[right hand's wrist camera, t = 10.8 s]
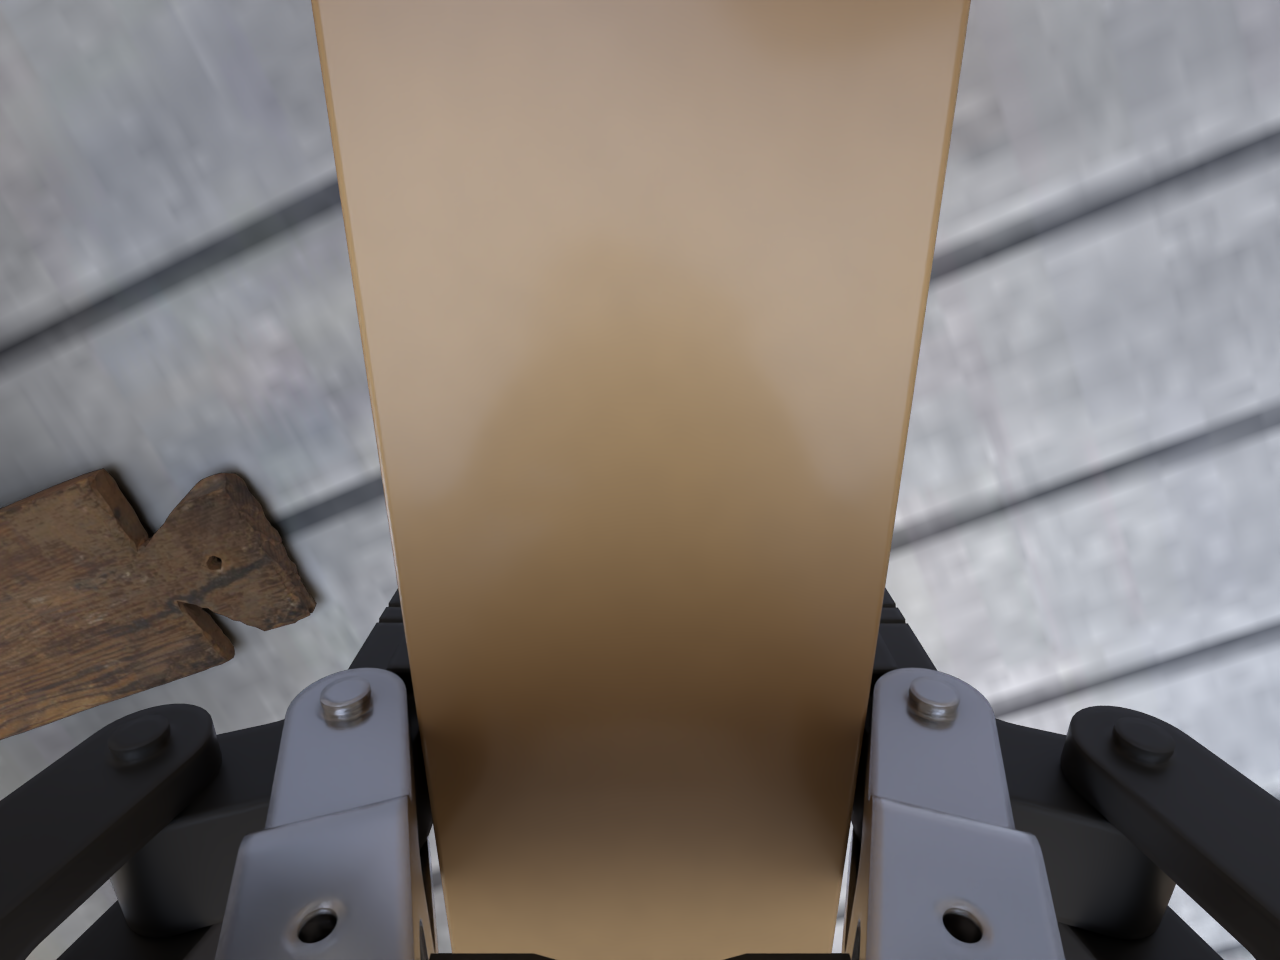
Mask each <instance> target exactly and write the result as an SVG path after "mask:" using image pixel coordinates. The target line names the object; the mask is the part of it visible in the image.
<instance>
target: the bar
mask: <svg viewBox="0 0 1280 960" xmlns="http://www.w3.org/2000/svg"><path fill="white" fill-rule="evenodd" d="M970 2H971V0H311V3H312V10H313V16H314V23H315V30H316V37H317V43H318V50H319V57H320V64H321V70H322V77H323V84H324V91H325V97H326V104H327V111H328V118H329V124H330V131H331V138H332V145H333V151H334V158H335V165H336V172H337V178H338V185H339V192H340V199H341V205H342V212H343V219H344V226H345V232H346V239H347V246H348V252H349V259H350V266H351V273H352V279H353V286H354V293H355V300H356V306H357V313H358V320H359V327H360V333H361V340H362V347H363V354H364V360H365V367H366V374H367V381H368V387H369V394H370V401H371V408H372V414H373V421H374V428H375V435H376V441H377V448H378V455H379V462H380V468H381V475H382V482H383V489H384V495H385V502H386V509H387V516H388V522H389V529H390V536H391V542H392V549H393V556H394V563H395V569H396V576H397V583H398V590H399V596H400V603H401V610H402V617H403V623H404V630H405V637H406V644H407V650H408V657H409V664H410V671H411V677H412V684H413V691H414V698H415V704H416V711H417V718H418V725H419V731H420V738H421V745H422V752H423V758H424V765H425V772H426V779H427V785H428V792H429V799H430V806H431V812H432V819H433V826H434V833H435V839H436V846H437V853H438V859H439V866H440V873H441V880H442V886H443V893H444V900H445V907H446V913H447V920H448V927H449V934H450V940H451V947H452V953H534V954H538V955H541V956H545V957H549V958H552V959H556V960H724V959H728V958H731V957H735V956H739V955H742V954H746V953H832V946H833V939H834V932H835V925H836V919H837V912H838V905H839V898H840V891H841V884H842V878H843V871H844V864H845V857H846V850H847V843H848V837H849V830H850V823H851V816H852V809H853V802H854V796H855V789H856V782H857V775H858V768H859V761H860V755H861V748H862V741H863V734H864V727H865V720H866V714H867V707H868V700H869V693H870V686H871V679H872V672H873V666H874V659H875V652H876V645H877V638H878V631H879V625H880V618H881V611H882V604H883V597H884V590H885V584H886V577H887V570H888V563H889V556H890V549H891V543H892V536H893V529H894V522H895V515H896V508H897V502H898V495H899V488H900V481H901V474H902V467H903V461H904V454H905V447H906V440H907V433H908V426H909V419H910V413H911V406H912V399H913V392H914V385H915V378H916V372H917V365H918V358H919V351H920V344H921V337H922V331H923V324H924V317H925V310H926V303H927V296H928V290H929V283H930V276H931V269H932V262H933V255H934V249H935V242H936V235H937V228H938V221H939V214H940V208H941V201H942V194H943V187H944V180H945V173H946V167H947V160H948V153H949V146H950V139H951V132H952V125H953V119H954V112H955V105H956V98H957V91H958V84H959V78H960V71H961V64H962V57H963V50H964V43H965V37H966V30H967V23H968V16H969V9H970Z"/></svg>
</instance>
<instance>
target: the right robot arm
mask: <svg viewBox="0 0 1280 960" xmlns="http://www.w3.org/2000/svg"><path fill="white" fill-rule="evenodd" d="M851 821H852V824H853V831H852V838H851V845H850V851H849V864H848V877H847V890H846V903H845V916H844V929H843V942H842V953H746V954H742V955H739V956H735V957H731V958H728V959H724V960H1223V959H1222V958H1221V957H1220V956H1219V955H1218V954H1217V953H1216V952H1215V951H1214V950H1213V949H1212V948H1211V947H1210V946H1209V945H1208V944H1207V943H1206V942H1205V941H1204V940H1203V939H1202V938H1201V937H1200V936H1199V935H1198V934H1197V933H1196V932H1195V931H1194V930H1193V929H1192V928H1191V927H1189V926H1188V925H1187V924H1186V923H1185V922H1184V921H1183V920H1182V919H1181V918H1180V917H1179V916H1178V915H1177V914H1176V913H1175V912H1174V911H1173V910H1172V909H1171V908H1170V907H1169V906H1168V903H1169V900H1170V898H1171V895H1172V893H1173V890H1174V888H1175V885H1176V884H1177V885H1178V886H1179V887H1180V888H1181V889H1182V890H1184V891H1185V892H1186V893H1187V894H1188V895H1189V896H1190V897H1191V898H1192V899H1193V900H1194V901H1195V902H1196V903H1198V904H1199V905H1200V906H1201V907H1202V908H1203V909H1204V910H1205V911H1206V912H1207V913H1208V914H1209V915H1210V916H1212V917H1213V918H1214V919H1215V920H1216V921H1217V922H1218V923H1219V924H1220V925H1221V926H1222V927H1223V928H1224V929H1226V930H1227V931H1228V932H1229V933H1230V934H1231V935H1232V936H1233V937H1234V938H1235V939H1236V940H1237V941H1238V942H1239V943H1241V944H1242V945H1243V946H1244V947H1245V948H1246V949H1247V950H1248V951H1249V952H1250V953H1251V954H1252V955H1253V957H1254V958H1255V959H1256V960H1280V801H1279V800H1278V799H1276V798H1275V797H1273V796H1272V795H1271V794H1269V793H1268V792H1266V791H1265V790H1264V789H1262V788H1261V787H1259V786H1258V785H1257V784H1255V783H1254V782H1252V781H1251V780H1250V779H1248V778H1247V777H1245V776H1244V775H1243V774H1241V773H1240V772H1238V771H1237V770H1236V769H1234V768H1233V767H1232V766H1230V765H1229V764H1227V763H1226V762H1225V761H1223V760H1222V759H1220V758H1219V757H1218V756H1216V755H1215V754H1213V753H1212V752H1211V751H1209V750H1208V749H1206V748H1205V747H1204V746H1202V745H1201V744H1199V743H1198V742H1197V741H1195V740H1194V739H1192V738H1191V737H1190V736H1188V735H1187V734H1185V733H1184V732H1182V731H1181V730H1179V729H1178V728H1176V727H1174V726H1172V725H1170V724H1168V723H1167V722H1164V721H1162V720H1160V719H1158V718H1156V717H1153V716H1150V715H1148V714H1145V713H1142V712H1138V711H1135V710H1131V709H1127V708H1122V707H1115V706H1093V707H1088V708H1085V709H1082V710H1080V711H1078V712H1077V713H1076V714H1075V715H1074V716H1073V717H1072V720H1071V722H1070V726H1069V729H1068V733H1067V736H1066V735H1062V734H1057V733H1052V732H1048V731H1043V730H1039V729H1034V728H1029V727H1025V726H1020V725H1016V724H1012V723H1008V722H1005V721H1002V720H999V719H996V718H995V716H994V712H993V709H992V707H991V705H990V704H989V702H988V701H987V700H986V698H985V697H984V696H983V695H982V694H981V693H980V692H979V691H977V690H976V689H975V688H973V687H972V686H971V685H969V684H968V683H966V682H964V681H962V680H960V679H958V678H956V677H954V676H951V675H949V674H946V673H943V672H939V671H937V669H936V668H935V666H934V665H933V663H932V661H931V660H930V658H929V657H928V655H927V653H926V652H925V650H924V649H923V647H922V645H921V644H920V642H919V641H918V639H917V637H916V636H915V634H914V633H913V631H912V629H911V628H910V626H909V625H908V624H906V623H905V618H904V617H903V615H902V613H901V612H900V610H899V609H898V608H896V606H895V602H894V601H893V599H892V598H891V596H890V594H889V593H888V591H887V590H886V588H885V590H884V597H883V604H882V611H881V618H880V625H879V631H878V638H877V645H876V652H875V659H874V666H873V672H872V679H871V686H870V693H869V700H868V707H867V714H866V720H865V727H864V734H863V741H862V748H861V755H860V761H859V768H858V775H857V782H856V789H855V796H854V802H853V809H852V816H851ZM432 824H433V819H432V812H431V806H430V799H429V792H428V785H427V779H426V772H425V765H424V758H423V752H422V745H421V738H420V731H419V725H418V718H417V711H416V704H415V698H414V691H413V684H412V677H411V671H410V664H409V657H408V650H407V644H406V637H405V630H404V623H403V617H402V610H401V603H400V596H399V590H398V589H397V591H396V592H395V594H394V596H393V597H392V599H391V600H390V602H389V607H386V609H385V610H384V612H383V613H382V615H381V617H380V618H379V623H376V625H375V626H374V628H373V630H372V631H371V633H370V635H369V636H368V638H367V639H366V641H365V643H364V644H363V646H362V648H361V649H360V651H359V652H358V654H357V656H356V657H355V659H354V661H353V662H352V664H351V665H350V667H349V669H348V670H345V671H341V672H337V673H334V674H331V675H329V676H326V677H324V678H322V679H320V680H318V681H316V682H314V683H312V684H311V685H309V686H308V687H307V688H305V689H304V690H303V691H301V692H300V693H299V694H298V695H297V696H296V697H295V698H294V700H293V701H292V702H291V704H290V705H289V707H288V709H287V712H286V716H285V719H284V720H281V721H277V722H273V723H269V724H265V725H261V726H256V727H251V728H247V729H242V730H237V731H233V732H228V733H223V734H219V735H216V732H215V728H214V725H213V721H212V718H211V716H210V714H209V713H208V712H207V711H206V710H204V709H203V708H201V707H198V706H195V705H190V704H168V705H161V706H156V707H151V708H148V709H144V710H141V711H138V712H135V713H132V714H130V715H127V716H125V717H123V718H121V719H118V720H116V721H114V722H112V723H111V724H109V725H107V726H105V727H104V728H102V729H101V730H99V731H98V732H96V733H95V734H93V735H92V736H90V737H89V738H88V739H86V740H85V741H83V742H82V743H81V744H79V745H78V746H76V747H75V748H74V749H72V750H71V751H69V752H68V753H67V754H65V755H64V756H62V757H61V758H60V759H58V760H57V761H55V762H54V763H53V764H51V765H50V766H48V767H47V768H46V769H44V770H43V771H42V772H40V773H39V774H37V775H36V776H35V777H33V778H32V779H30V780H29V781H28V782H26V783H25V784H23V785H22V786H21V787H19V788H18V789H16V790H15V791H14V792H12V793H11V794H9V795H8V796H7V797H5V798H4V799H2V800H1V801H0V960H25V959H26V958H27V957H28V955H29V954H30V953H31V952H32V951H33V950H34V949H35V948H36V947H37V945H38V944H39V943H41V942H42V941H43V940H44V939H45V938H46V937H47V936H48V935H49V934H50V933H51V932H52V931H53V930H55V929H56V928H57V927H58V926H59V925H60V924H61V923H62V922H63V921H64V920H65V919H66V918H67V917H69V916H70V915H71V914H72V913H73V912H74V911H75V910H76V909H77V908H78V907H79V906H80V905H81V904H82V903H84V902H85V901H86V900H87V899H88V898H89V897H90V896H91V895H92V894H93V893H94V892H95V891H96V890H98V889H99V888H100V887H101V886H102V885H103V884H104V883H105V882H106V881H107V880H108V879H109V878H110V881H111V883H112V886H113V888H114V891H115V893H116V896H117V899H118V900H117V901H116V902H115V903H114V904H113V905H112V906H111V907H110V908H109V909H108V910H107V911H106V912H105V913H104V914H103V915H102V916H101V917H100V918H99V919H98V920H97V921H96V922H95V923H94V924H93V925H92V926H91V927H90V928H88V929H87V930H86V931H85V932H84V933H83V934H82V935H81V936H80V937H79V938H78V939H77V940H76V941H75V942H74V943H73V944H72V945H71V946H70V947H69V948H68V949H67V950H66V951H65V952H64V953H63V954H62V955H61V956H60V957H59V958H58V959H57V960H556V959H552V958H549V957H545V956H541V955H538V954H534V953H438V942H437V929H436V916H435V903H434V890H433V877H432V864H431V851H430V845H429V838H428V835H429V833H430V830H431V827H432Z"/></svg>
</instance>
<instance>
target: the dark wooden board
mask: <svg viewBox="0 0 1280 960" xmlns="http://www.w3.org/2000/svg"><path fill="white" fill-rule="evenodd" d="M300 578H301V577H300V576H299V574H298V572H297V568H296V564H295V563H293V562H292V561H291V560H290V559H289V557H288V556H287V552H286V549H285V547H284V545H283V544H282V539H281V537H280V535H279V533H278V531H277V530H276V529H275V528H273V527H272V526H271V524H270V522H269V521H268V520H267V519H266V517H265V514H264V511H263V509H262V506H261V504H260V503H259V502H258V501H257V500H256V498H255V497H254V496H253V495H252V494H251V493H250V492H249V490H248V488H247V485H246V483H245V482H244V480H243V479H242V478H241V477H239V476H238V475H237V474H235V473H219V474H215V475H212V476H209V477H207V478H204V479H202V480H200V481H199V482H198V483H197V484H196V485H195V486H194V487H193V488H192V489H191V490H190V492H189V493H188V494H187V495H186V496H185V497H184V498H183V499H182V501H181V502H180V503H179V504H178V505H177V506H176V507H175V508H174V510H173V511H172V512H171V513H170V515H169V516H168V518H167V519H166V521H165V523H164V524H163V525H162V526H161V527H160V528H159V529H158V531H157V532H156V533H155V534H154V535H153V537H151V538H149V537H148V534H147V532H146V530H145V529H144V527H143V526H142V524H141V523H140V521H139V519H138V517H137V515H136V513H135V511H134V509H133V508H132V506H131V505H130V504H129V502H128V501H127V499H126V498H125V497H124V495H123V494H122V492H121V491H120V489H119V487H118V485H117V483H116V481H115V480H114V479H113V477H112V476H111V475H110V474H109V473H108V472H107V471H106V470H105V469H100V470H97V471H93V472H90V473H87V474H84V475H81V476H78V477H76V478H73V479H71V480H68V481H66V482H63V483H60V484H58V485H55V486H53V487H50V488H48V489H45V490H43V491H40V492H38V493H36V494H34V495H32V496H29V497H27V498H24V499H22V500H20V501H17V502H15V503H13V504H10V505H8V506H6V507H3V508H1V509H0V740H2V739H5V738H8V737H10V736H13V735H17V734H20V733H23V732H26V731H29V730H32V729H34V728H37V727H40V726H43V725H46V724H49V723H52V722H54V721H57V720H60V719H63V718H65V717H68V716H71V715H74V714H76V713H79V712H81V711H84V710H87V709H90V708H93V707H96V706H99V705H102V704H105V703H108V702H111V701H114V700H118V699H121V698H124V697H127V696H130V695H132V694H135V693H139V692H142V691H145V690H148V689H150V688H153V687H156V686H160V685H163V684H166V683H169V682H172V681H174V680H177V679H180V678H183V677H186V676H189V675H192V674H195V673H198V672H201V671H204V670H207V669H209V668H211V667H214V666H217V665H221V664H223V663H225V662H227V661H229V660H231V659H232V658H234V655H235V650H234V646H233V645H232V643H231V641H230V640H229V638H228V637H227V636H225V635H224V634H223V632H222V630H221V629H220V627H219V626H218V625H217V624H216V623H215V622H214V620H213V619H212V617H211V616H210V614H208V613H207V612H206V611H204V610H202V608H209V609H210V610H211V611H213V612H214V613H217V614H221V615H224V616H226V617H228V618H230V619H232V620H235V621H241V622H242V623H244V624H246V625H249V626H254V627H257V628H259V629H261V630H263V631H267V630H271V629H274V628H278V627H281V626H285V625H289V624H293V623H296V622H297V621H298V620H300V619H303V618H305V617H307V616H309V615H310V613H313V611H314V609H315V606H316V602H315V600H314V599H313V598H312V596H311V595H310V594H308V592H307V590H306V588H305V587H304V585H303V583H302V581H301V579H300Z"/></svg>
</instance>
